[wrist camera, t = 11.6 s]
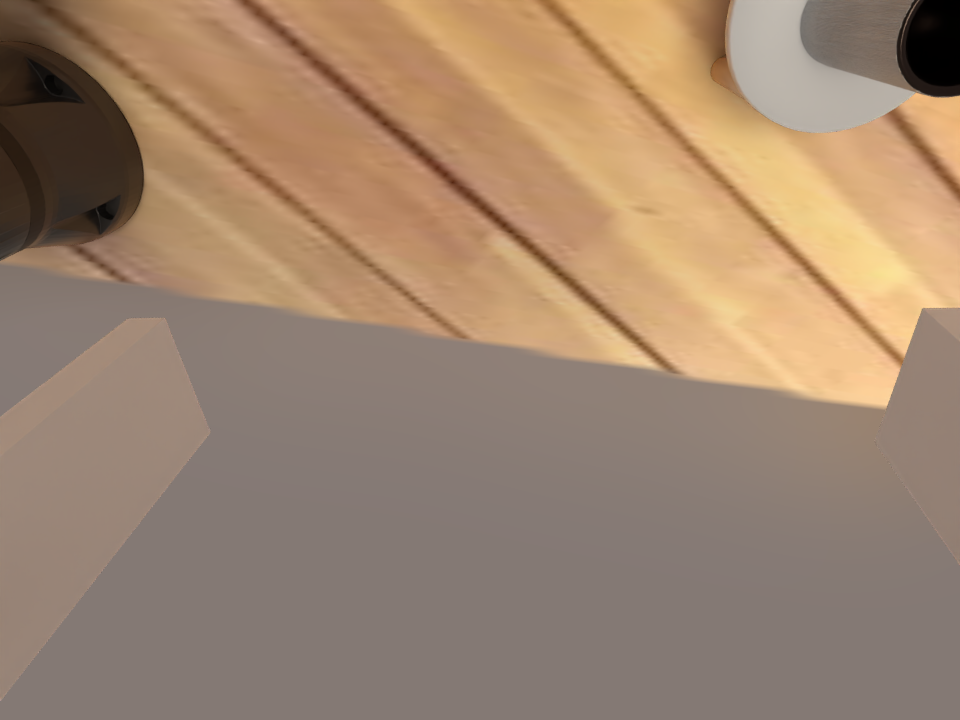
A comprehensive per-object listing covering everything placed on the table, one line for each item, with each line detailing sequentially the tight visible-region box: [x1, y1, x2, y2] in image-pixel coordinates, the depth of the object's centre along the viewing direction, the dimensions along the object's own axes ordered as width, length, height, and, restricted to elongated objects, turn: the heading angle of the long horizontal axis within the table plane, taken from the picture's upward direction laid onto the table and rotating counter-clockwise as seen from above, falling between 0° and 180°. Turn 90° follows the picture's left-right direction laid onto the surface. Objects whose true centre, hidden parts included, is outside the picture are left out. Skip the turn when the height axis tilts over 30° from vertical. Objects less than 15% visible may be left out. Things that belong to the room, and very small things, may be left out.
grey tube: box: [800, 0, 960, 97], centre depth 25 cm, size 4×4×10 cm
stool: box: [711, 0, 916, 133], centre depth 33 cm, size 11×11×10 cm
